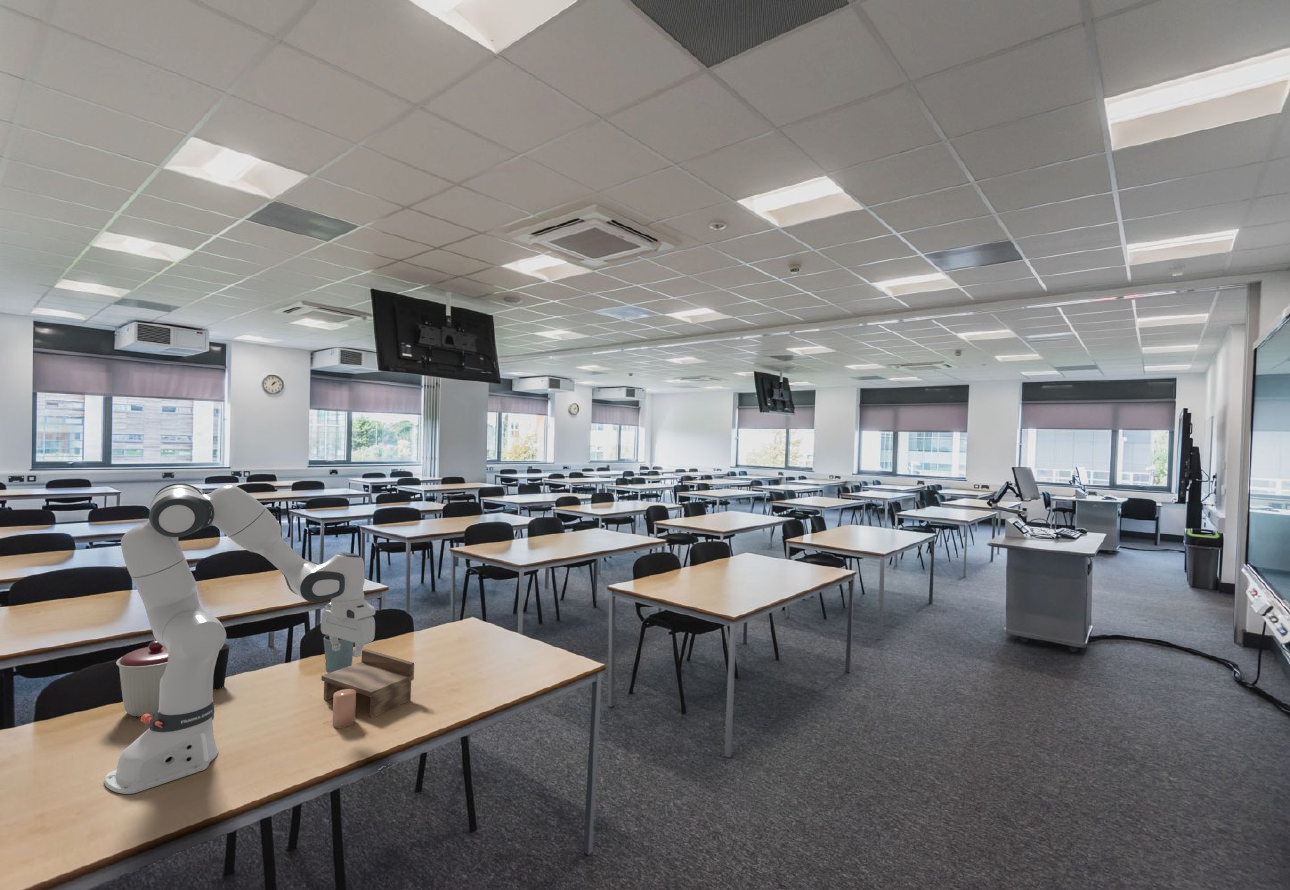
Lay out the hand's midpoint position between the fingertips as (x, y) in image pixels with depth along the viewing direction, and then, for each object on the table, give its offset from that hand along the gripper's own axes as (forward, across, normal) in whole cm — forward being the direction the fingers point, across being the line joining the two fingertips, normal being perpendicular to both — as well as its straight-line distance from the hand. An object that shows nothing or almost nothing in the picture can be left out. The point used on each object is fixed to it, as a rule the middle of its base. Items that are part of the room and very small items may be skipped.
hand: (346, 653), depth 177 cm
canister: (+21, -56, -24) cm, 64 cm away
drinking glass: (+21, -40, +26) cm, 52 cm away
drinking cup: (+21, -58, -6) cm, 62 cm away
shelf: (+21, -8, +14) cm, 26 cm away
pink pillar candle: (+21, 0, 0) cm, 21 cm away
